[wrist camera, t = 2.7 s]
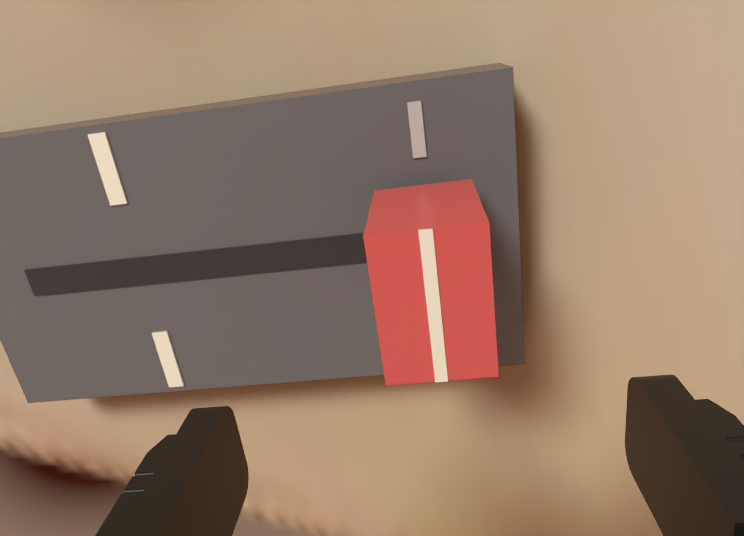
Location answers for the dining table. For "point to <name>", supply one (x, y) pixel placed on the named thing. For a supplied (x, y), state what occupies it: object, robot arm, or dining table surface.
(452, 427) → the dining table surface
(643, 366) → the dining table surface
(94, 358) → the console
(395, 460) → the dining table surface
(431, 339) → the fader
